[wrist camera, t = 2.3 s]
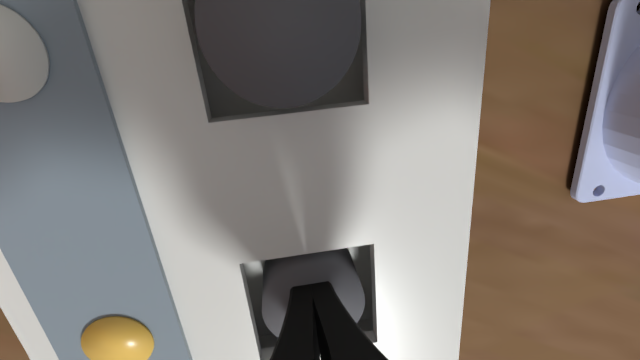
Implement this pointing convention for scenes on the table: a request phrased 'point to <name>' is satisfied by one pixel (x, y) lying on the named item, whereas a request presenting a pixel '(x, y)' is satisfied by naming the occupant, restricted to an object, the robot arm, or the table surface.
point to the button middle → (279, 46)
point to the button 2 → (308, 271)
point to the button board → (228, 181)
